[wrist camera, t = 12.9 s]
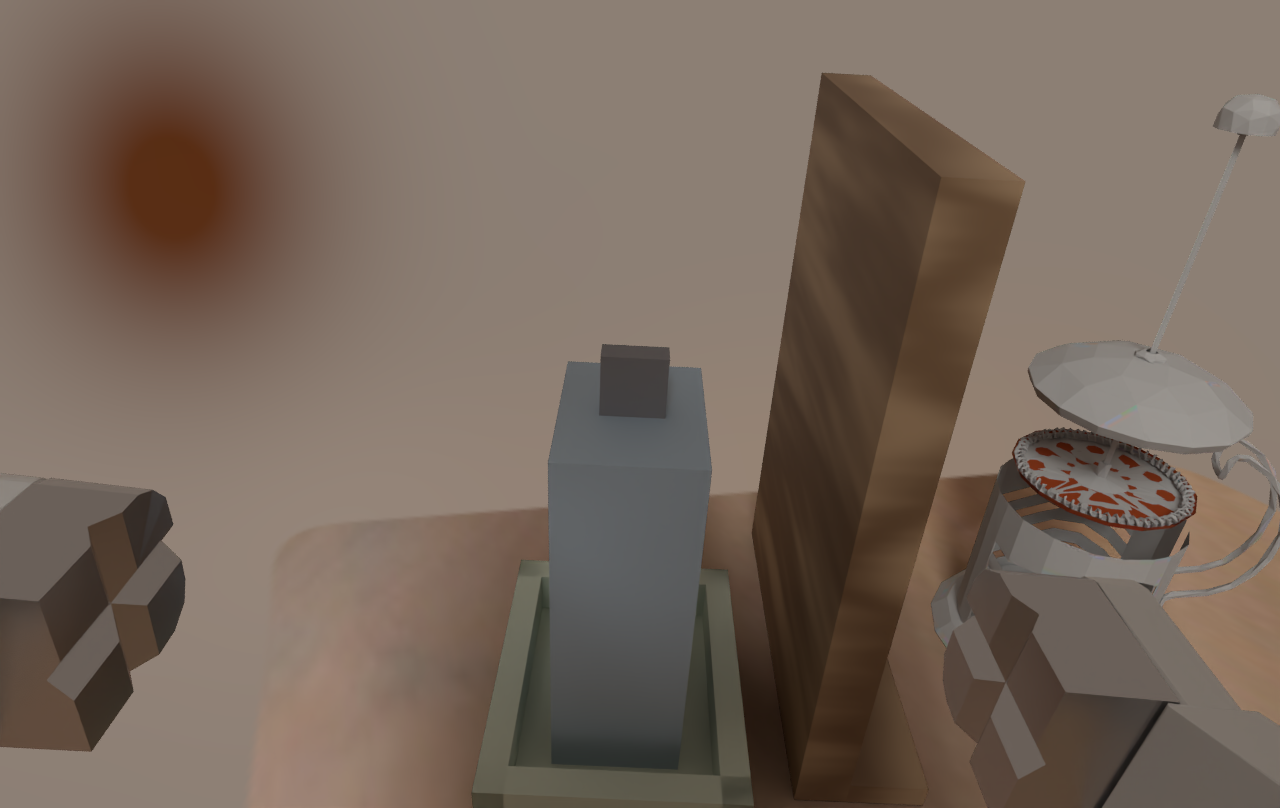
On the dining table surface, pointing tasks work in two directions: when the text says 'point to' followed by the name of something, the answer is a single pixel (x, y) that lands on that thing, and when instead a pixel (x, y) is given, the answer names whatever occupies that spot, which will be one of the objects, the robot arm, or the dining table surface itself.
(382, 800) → the dining table surface
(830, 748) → the wooden flat block
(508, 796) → the pale green open box
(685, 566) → the grey block with tab
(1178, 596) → the french press
